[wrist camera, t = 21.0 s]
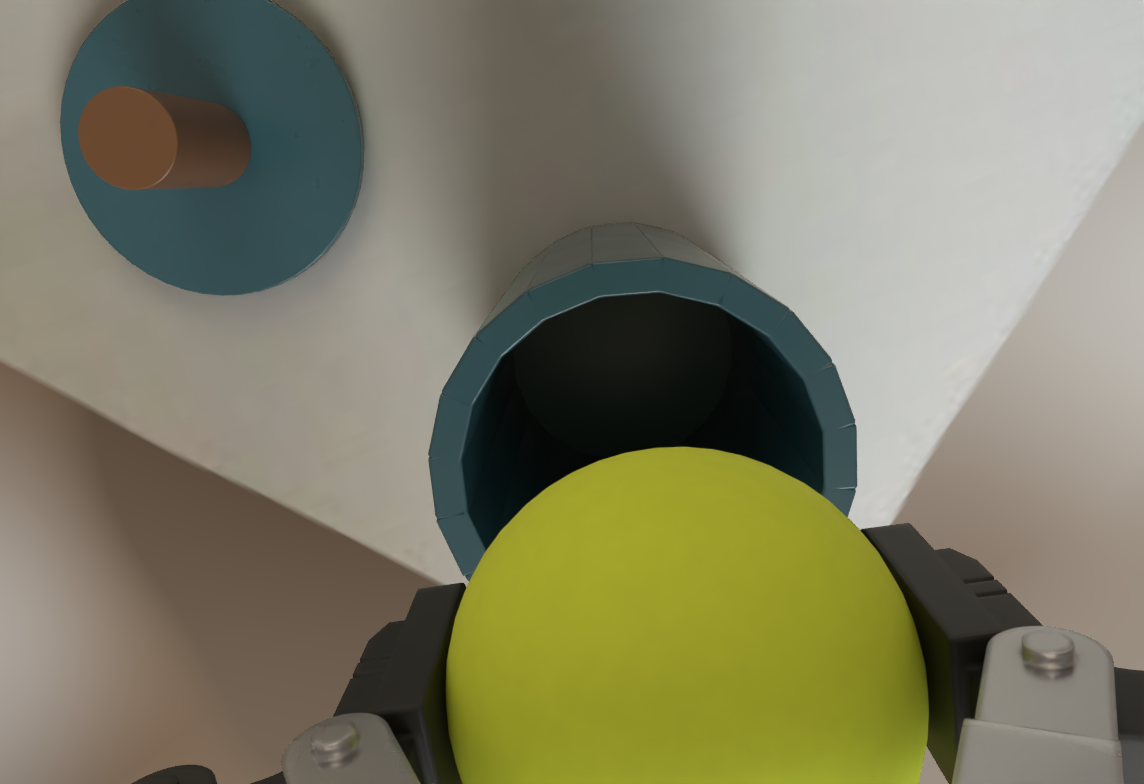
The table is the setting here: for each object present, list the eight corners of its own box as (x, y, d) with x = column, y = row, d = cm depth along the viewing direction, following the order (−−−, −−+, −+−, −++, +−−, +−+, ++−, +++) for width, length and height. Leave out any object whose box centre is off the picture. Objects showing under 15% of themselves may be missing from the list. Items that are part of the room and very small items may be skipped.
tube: (578, 172, 34) (569, 172, 19) (799, 309, 35) (945, 404, 20) (448, 393, 36) (355, 538, 21) (660, 516, 37) (705, 732, 23)
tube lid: (150, -75, 32) (29, -143, 25) (420, 92, 33) (376, 71, 26) (31, 196, 34) (-111, 202, 27) (287, 343, 35) (213, 385, 28)
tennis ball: (600, 325, 14) (606, 439, 8) (924, 520, 15) (1157, 762, 9) (411, 631, 16) (292, 929, 10) (715, 798, 16) (789, 1176, 10)
